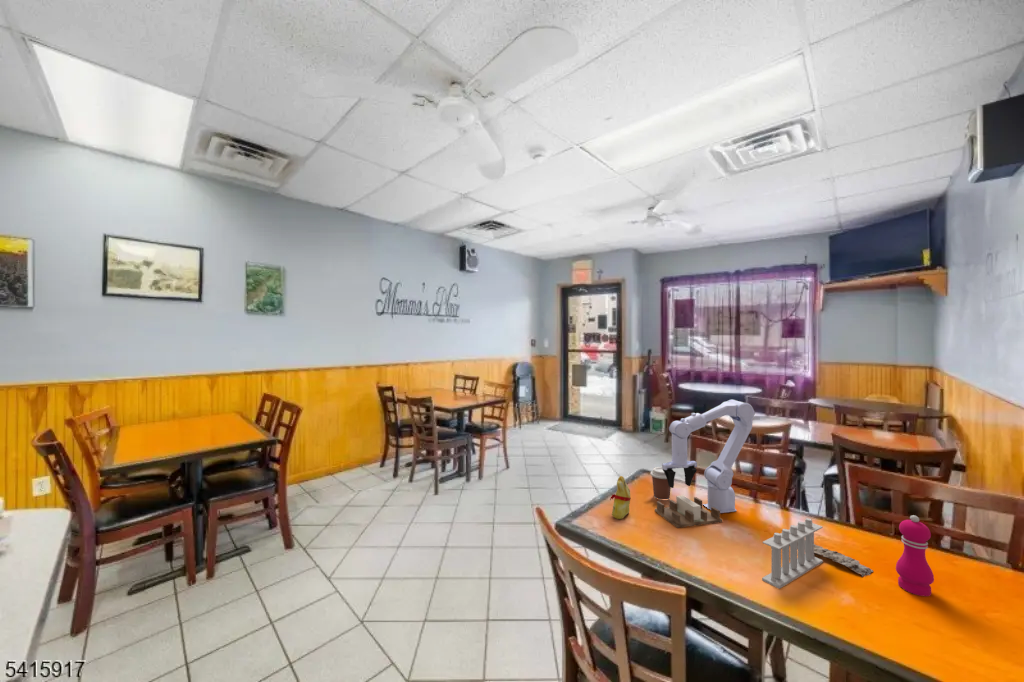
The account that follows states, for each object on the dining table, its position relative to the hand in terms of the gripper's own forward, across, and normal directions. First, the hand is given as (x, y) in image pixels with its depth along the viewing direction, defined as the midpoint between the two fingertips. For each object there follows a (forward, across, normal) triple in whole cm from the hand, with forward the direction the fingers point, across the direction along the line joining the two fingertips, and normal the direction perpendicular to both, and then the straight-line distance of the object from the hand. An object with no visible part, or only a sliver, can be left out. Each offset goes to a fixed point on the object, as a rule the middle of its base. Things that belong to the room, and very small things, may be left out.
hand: (679, 486), depth 156 cm
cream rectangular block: (+8, -1, -6) cm, 10 cm away
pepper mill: (+10, +29, -58) cm, 66 cm away
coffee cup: (+10, 0, +12) cm, 15 cm away
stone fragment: (+10, +22, -39) cm, 45 cm away
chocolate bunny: (+10, -25, +3) cm, 27 cm away
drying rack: (+9, -1, -6) cm, 11 cm away
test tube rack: (+10, +6, -44) cm, 45 cm away
